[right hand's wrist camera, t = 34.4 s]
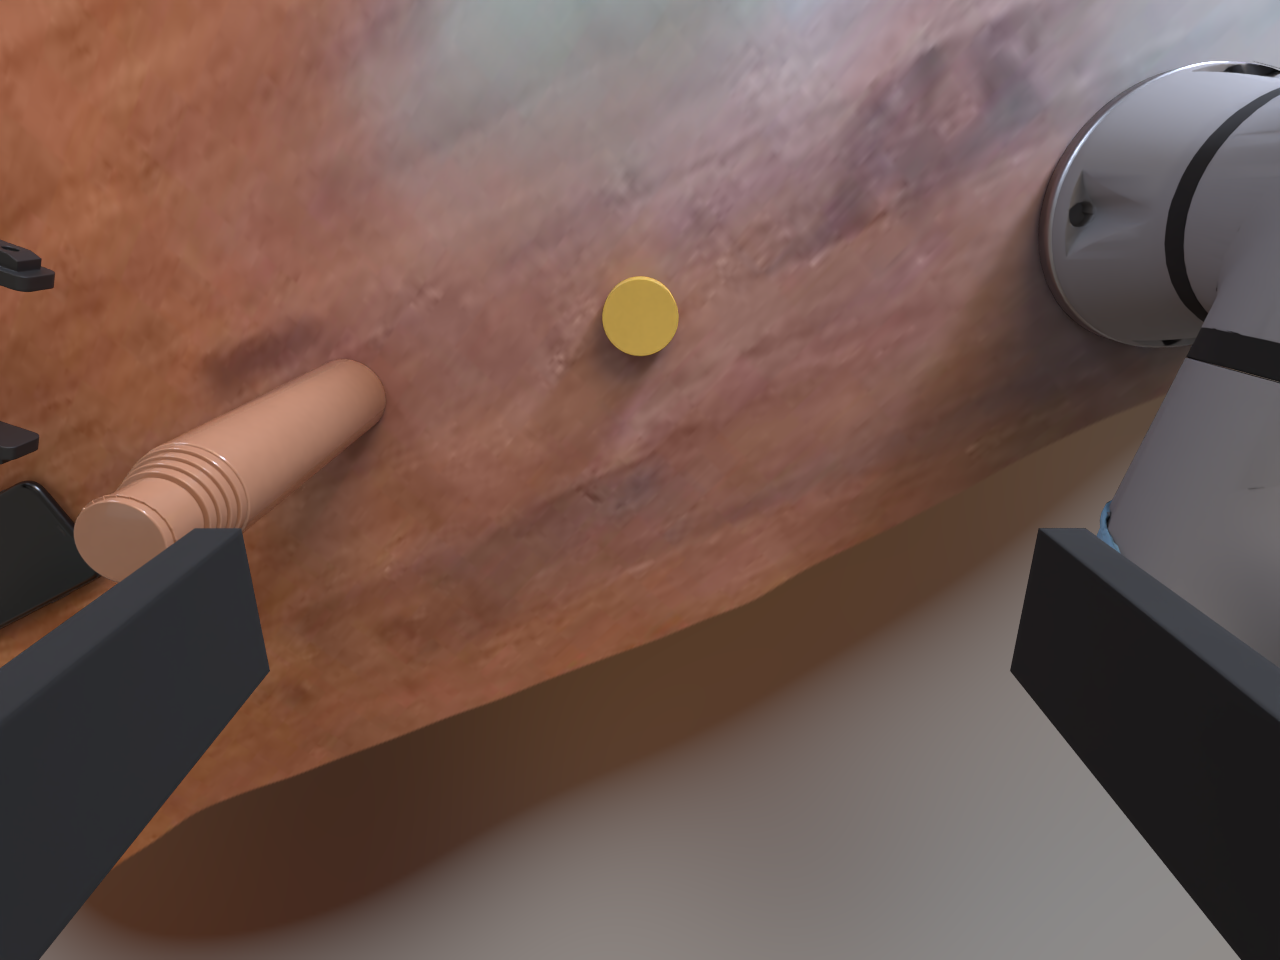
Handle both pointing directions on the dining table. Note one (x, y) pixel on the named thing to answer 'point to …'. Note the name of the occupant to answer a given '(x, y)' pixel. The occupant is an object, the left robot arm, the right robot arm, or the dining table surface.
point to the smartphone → (36, 552)
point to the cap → (640, 316)
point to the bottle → (230, 467)
